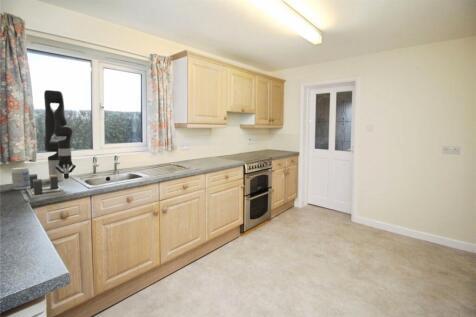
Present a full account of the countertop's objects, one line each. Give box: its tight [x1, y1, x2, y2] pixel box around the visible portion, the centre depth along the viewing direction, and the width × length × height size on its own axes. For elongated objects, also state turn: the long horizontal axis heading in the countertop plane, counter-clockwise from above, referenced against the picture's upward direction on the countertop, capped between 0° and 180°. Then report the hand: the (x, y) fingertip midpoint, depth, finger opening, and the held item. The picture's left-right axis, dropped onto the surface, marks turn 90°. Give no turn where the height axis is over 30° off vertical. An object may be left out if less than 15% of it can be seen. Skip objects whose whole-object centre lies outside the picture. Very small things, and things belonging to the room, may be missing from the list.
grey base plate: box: [25, 173, 66, 199], centre depth 174 cm, size 28×18×11 cm, turn 44°
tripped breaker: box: [48, 174, 59, 189], centre depth 178 cm, size 4×4×9 cm
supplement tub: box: [11, 166, 30, 191], centre depth 182 cm, size 10×10×15 cm
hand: (66, 178), depth 183 cm, fingers closed
